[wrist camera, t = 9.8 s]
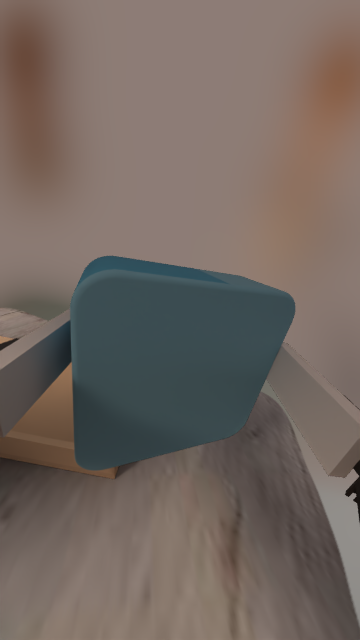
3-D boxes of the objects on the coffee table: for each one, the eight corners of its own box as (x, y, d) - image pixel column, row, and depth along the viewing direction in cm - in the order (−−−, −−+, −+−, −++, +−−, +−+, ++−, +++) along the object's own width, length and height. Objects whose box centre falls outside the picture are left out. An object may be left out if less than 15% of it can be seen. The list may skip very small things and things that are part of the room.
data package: (214, 394, 19) (254, 277, 15) (241, 435, 15) (306, 295, 11) (82, 413, 14) (81, 250, 10) (74, 479, 11) (67, 264, 6)
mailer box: (-213, 416, 19) (-235, 389, 18) (-19, 334, 37) (-23, 318, 36) (114, 479, 20) (116, 457, 19) (151, 368, 38) (153, 353, 36)
